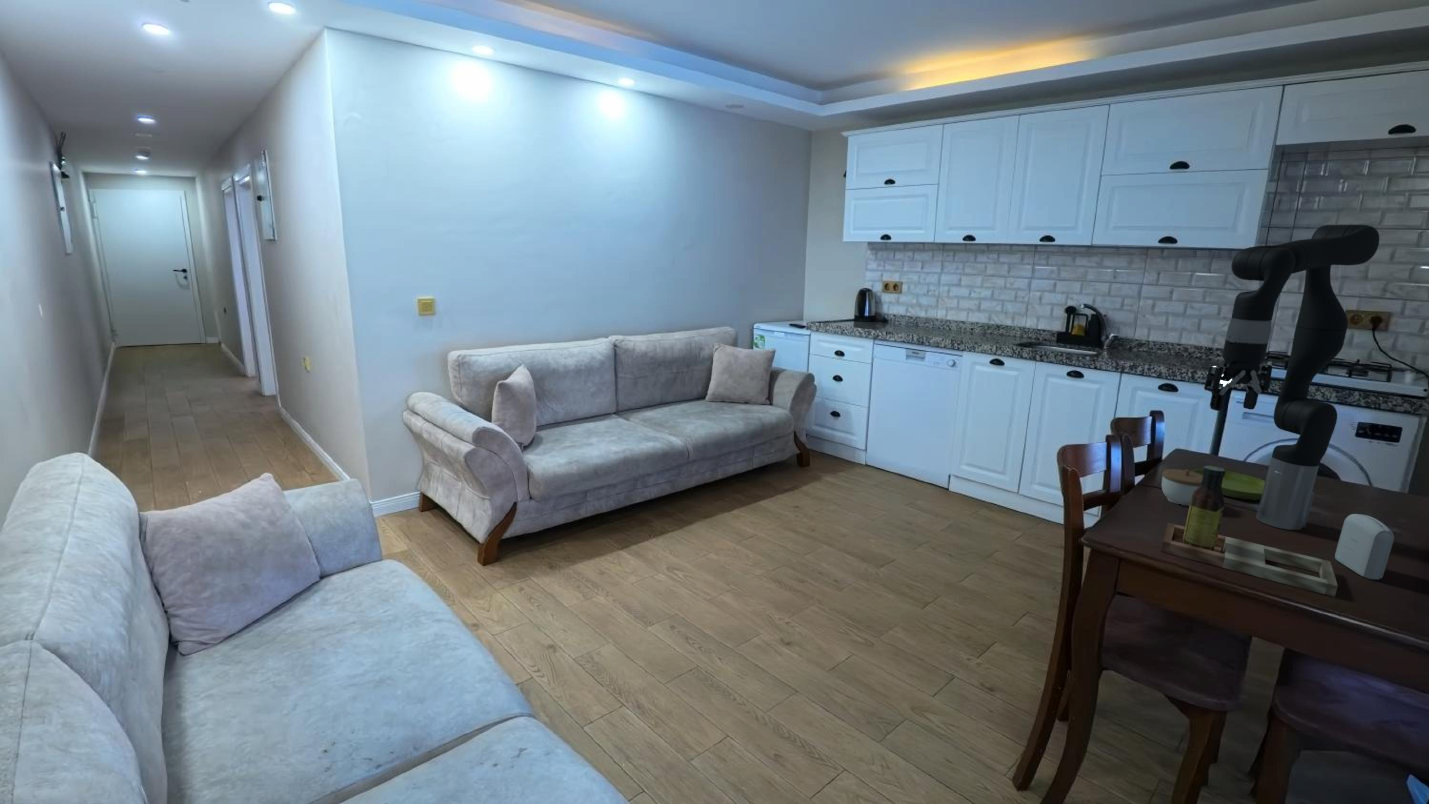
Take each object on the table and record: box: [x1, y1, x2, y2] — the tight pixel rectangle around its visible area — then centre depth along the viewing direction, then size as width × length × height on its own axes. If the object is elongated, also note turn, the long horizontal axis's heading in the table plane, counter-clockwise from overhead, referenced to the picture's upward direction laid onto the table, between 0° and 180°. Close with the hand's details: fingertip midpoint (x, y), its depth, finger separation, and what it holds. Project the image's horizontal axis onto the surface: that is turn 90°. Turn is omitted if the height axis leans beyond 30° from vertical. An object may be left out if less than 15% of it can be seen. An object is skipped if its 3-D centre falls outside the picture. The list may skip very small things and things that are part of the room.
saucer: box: [1190, 468, 1266, 501], centre depth 193 cm, size 21×21×3 cm
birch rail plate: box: [1160, 522, 1339, 598], centre depth 148 cm, size 30×14×2 cm, turn 52°
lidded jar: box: [1161, 468, 1203, 507], centre depth 182 cm, size 11×11×9 cm
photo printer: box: [1334, 513, 1395, 581], centre depth 145 cm, size 10×4×12 cm, turn 168°
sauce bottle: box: [1183, 465, 1226, 551], centre depth 151 cm, size 7×6×20 cm
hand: (1231, 409), depth 150 cm, fingers open, 8 cm apart
